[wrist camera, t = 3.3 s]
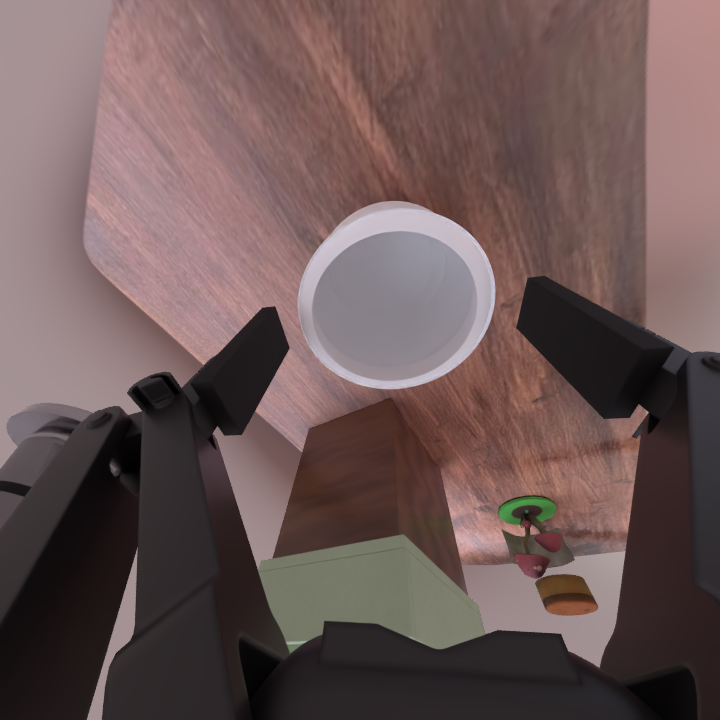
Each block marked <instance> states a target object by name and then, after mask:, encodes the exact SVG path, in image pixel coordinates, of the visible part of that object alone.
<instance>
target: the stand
mask: <svg viewBox="0 0 720 720" xmlns="http://www.w3.org/2000/svg"><path fill="white" fill-rule="evenodd" d="M402 534H404V535H405V536H406V537H407V538H408V539H409V540H410V541H411V542H412V543H413V544H414V545H415V546H416V547H417V548H418V549H420V550H421V551H422V552H423V553H424V554H425V555H426V556H427V557H428V558H429V559H430V560H431V561H432V562H433V563H434V564H435V565H436V566H437V567H438V568H439V569H440V570H442V571H443V572H444V573H445V574H446V575H447V576H448V577H449V578H450V579H451V580H452V581H453V582H454V583H455V584H456V585H457V586H458V587H459V588H460V589H461V590H462V591H464V592H465V593H466V594H467V595H468V593H467V589H466V585H465V580H464V575H463V571H462V566H461V562H460V557H459V553H458V548H457V544H456V539H455V535H454V530H453V526H452V521H451V517H450V512H449V508H448V503H447V499H446V494H445V490H444V485H443V481H442V476H441V472H440V469H439V468H438V466H437V465H436V464H435V462H434V461H433V459H432V458H431V456H430V455H429V453H428V452H427V450H426V449H425V448H424V446H423V445H422V443H421V442H420V440H419V439H418V437H417V436H416V435H415V433H414V432H413V430H412V429H411V427H410V426H409V424H408V423H407V422H406V420H405V419H404V417H403V416H402V414H401V413H400V411H399V410H398V408H397V407H396V406H395V404H394V403H393V401H392V400H391V398H389V399H387V400H384V401H381V402H379V403H376V404H374V405H371V406H368V407H366V408H363V409H361V410H358V411H355V412H353V413H350V414H348V415H345V416H342V417H340V418H337V419H335V420H332V421H329V422H327V423H324V424H322V425H319V426H316V427H314V428H311V429H309V431H308V434H307V438H306V441H305V445H304V448H303V452H302V456H301V459H300V463H299V466H298V470H297V473H296V477H295V481H294V484H293V488H292V492H291V495H290V498H289V502H288V505H287V509H286V513H285V516H284V520H283V523H282V527H281V530H280V534H279V537H278V541H277V545H276V548H275V552H274V555H273V558H279V557H284V556H290V555H295V554H300V553H306V552H311V551H316V550H322V549H327V548H333V547H338V546H343V545H349V544H354V543H359V542H365V541H370V540H376V539H381V538H386V537H392V536H397V535H402Z"/></svg>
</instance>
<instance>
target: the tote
mask: <svg viewBox="0 0 720 720" xmlns="http://www.w3.org/2000/svg"><path fill="white" fill-rule="evenodd" d="M258 572H259V575H260V579H261V582H262V585H263V588H264V591H265V595H266V598H267V601H268V604H269V607H270V610H271V612H272V614H273V616H274V618H275V620H276V622H277V623H278V625H279V627H280V629H281V631H282V633H283V636H284V638H285V641H286V643H287V646H288V649H289V652H290V653H291V652H293V651H294V650H295V649H297V648H298V647H299V646H301V645H302V644H303V643H305V642H307V641H309V640H311V639H313V638H315V637H317V636H319V635H322V634H323V626H324V621H339V622H357V623H375V624H379V625H381V626H384V627H386V628H388V629H391V630H393V631H395V632H397V633H400V634H402V635H404V636H407V637H409V638H411V639H413V640H416V641H418V642H420V643H423V644H425V645H427V646H429V647H432V648H435V649H444V648H448V647H450V646H453V645H456V644H459V643H462V642H465V641H468V640H471V639H474V638H477V637H480V636H483V635H485V631H484V627H483V622H482V618H481V614H480V610H479V606H478V605H477V604H476V603H475V602H474V601H473V600H472V599H471V598H470V597H469V596H468V595H467V594H466V593H465V592H464V591H462V590H461V589H460V588H459V587H458V586H457V585H456V584H455V583H454V582H453V581H452V580H451V579H450V578H449V577H448V576H447V575H446V574H445V573H444V572H443V571H442V570H440V569H439V568H438V567H437V566H436V565H435V564H434V563H433V562H432V561H431V560H430V559H429V558H428V557H427V556H426V555H425V554H424V553H423V552H422V551H421V550H420V549H418V548H417V547H416V546H415V545H414V544H413V543H412V542H411V541H410V540H409V539H408V538H407V537H406V536H405V535H404V534H402V535H397V536H392V537H386V538H381V539H376V540H370V541H365V542H359V543H354V544H349V545H343V546H338V547H333V548H327V549H322V550H316V551H311V552H306V553H300V554H295V555H290V556H284V557H279V558H273V559H268V560H263V561H261V562H260V566H259V569H258Z"/></svg>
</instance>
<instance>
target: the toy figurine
mask: <svg viewBox="0 0 720 720" xmlns="http://www.w3.org/2000/svg"><path fill="white" fill-rule="evenodd" d="M555 512H556V506H555V504H554V503H553V502H552V501H551V500H549V499H547V498H543V497H534V496H532V497H522V498H517V499H514V500H511V501H509V502H507V503H505V504H504V505H502V506H501V507H500V509H499V511H498V513H499V516H500V518H501V519H502V520H503V521H505V522H507V523H510V524H516V525H522V526H524V527H525V532H526V535H525V537H520V536H515V535H512V534H510V533H508V532H506V531H504V530H502V532H503V535H504V537H505V540H506V543H507V545H508V549H509V555H510V559H509V561H508V562H507V563H514V564H518V565H519V567H520V569H521V570H522V572H523V573H524V574H525V575H527V576H529V577H532V578H535V579H537V578H540V577H542V576H543V574H544V573H545V571H546V569H547V568H551V567H558V566H562V565H565V564H568V563H570V562H572V561H574V557H573V555H572V553H571V552H570V550H569V548H568V547H567V545H566V543H565V542H564V539H563V537H562V535H561V533H560V531H559V529H558V528H555V529H553V530H551V531H548V532H547V531H546V530H545V528H544V527H545V526H543V525H542V524H541V523H540V522H542V521H544V520H546V519H548V518H550V517H551V516H553V515H554V514H555ZM531 524H532V525H534V526H535V527H536V528H537V529H538V530H539V531H540V532H541V533H540V534H535V535H530V527H531ZM524 527H523V528H524ZM521 528H522V527H521ZM535 584H536V587H537V589H538V592H539V594H540V597H541V599H542V602H543V604H544V607H545V609H546V610H547V611H548V612H550V613H552V614H556V615H582V614H588V613H591V612H594V611H596V610H597V609H598V605H597V603H596V601H595V599H594V597H593V595H592V594H591V592H590V590H589V588H588V586H587V584H586V582H585V580H584V579H583V578H582V577H580V576H576V575H567V574H566V575H565V574H563V575H551V576H546V577H543V578H541V579H539V580H537V581H536V583H535Z"/></svg>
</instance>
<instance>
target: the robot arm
mask: <svg viewBox="0 0 720 720" xmlns="http://www.w3.org/2000/svg"><path fill="white" fill-rule="evenodd" d="M516 328H517V329H518V330H519V331H520V332H521V333H522V334H523V335H524V336H525V337H526V338H527V339H528V341H529V342H530V343H531V344H532V345H533V346H534V347H535V348H536V349H537V350H538V351H539V352H540V353H541V354H542V355H543V356H544V357H545V358H546V359H547V360H548V361H549V362H550V363H551V364H552V365H553V366H554V368H555V369H556V370H557V371H558V372H559V373H560V374H561V375H562V376H563V377H564V378H565V379H566V380H567V381H568V382H569V383H570V384H571V385H572V386H573V387H574V388H575V389H576V390H577V391H578V392H579V393H580V394H581V396H582V397H583V398H584V399H585V400H586V401H587V402H588V403H589V404H590V405H591V406H592V407H593V408H594V409H595V410H596V411H597V412H598V413H599V414H600V415H601V416H602V417H603V418H604V419H612V418H630V416H631V415H632V413H633V412H634V410H635V409H636V407H637V406H638V404H640V405H641V406H642V407H643V408H644V409H646V410H647V411H648V412H649V413H648V414H647V416H646V417H645V419H644V420H643V422H642V423H641V424H640V426H639V427H638V429H637V430H636V432H635V433H634V434H633V436H632V437H634V438H637V437H638V436H639V435H641V439H640V446H639V454H638V462H637V469H636V477H635V484H634V492H633V500H632V507H631V515H630V522H629V530H628V538H627V545H626V553H625V561H624V569H623V575H622V584H621V591H620V598H619V606H618V613H617V621H616V626H615V629H614V632H613V635H612V636H611V638H610V640H609V642H608V644H607V646H606V648H605V650H604V654H603V656H602V660H601V664H600V668H598V667H597V666H595V665H594V664H592V663H591V662H589V661H587V660H585V659H583V658H581V657H579V656H577V655H575V654H574V653H571V652H569V651H568V650H567V648H566V645H565V643H564V640H563V638H562V635H561V634H555V633H537V632H536V633H535V632H519V631H501V630H497V631H494V632H492V633H488V634H485V635H483V636H480V637H477V638H474V639H471V640H468V641H465V642H462V643H459V644H456V645H453V646H450V647H448V648H444V649H435V648H432V647H429V646H427V645H425V644H423V643H420V642H418V641H416V640H413V639H411V638H409V637H407V636H404V635H402V634H400V633H397V632H395V631H393V630H391V629H388V628H386V627H384V626H381V625H379V624H375V623H357V622H339V621H324V626H323V634H322V635H319V636H317V637H315V638H313V639H311V640H309V641H307V642H305V643H303V644H302V645H301V646H299V647H298V648H297V649H295V650H294V651H293V652H291V653H290V652H289V649H288V646H287V643H286V641H285V638H284V636H283V633H282V631H281V629H280V627H279V625H278V623H277V622H276V620H275V618H274V616H273V614H272V612H271V610H270V607H269V604H268V601H267V598H266V595H265V591H264V588H263V585H262V582H261V579H260V575H259V572H258V569H257V566H256V563H255V560H254V556H253V553H252V550H251V547H250V544H249V541H248V538H247V535H246V531H245V528H244V525H243V521H242V519H241V515H240V512H239V509H238V506H237V502H236V499H235V496H234V493H233V490H232V487H231V483H230V480H229V477H228V474H227V471H226V468H225V465H224V461H223V458H222V455H221V452H220V448H219V445H218V442H217V439H216V438H215V436H214V435H213V432H214V430H215V429H216V427H217V426H218V427H219V428H220V430H221V431H222V433H223V434H224V435H242V433H243V432H244V429H245V428H246V426H247V424H248V423H249V421H250V419H251V417H252V415H253V413H254V412H255V410H256V408H257V406H258V405H259V403H260V401H261V399H262V397H263V395H264V394H265V392H266V390H267V388H268V386H269V385H270V383H271V381H272V379H273V377H274V376H275V374H276V372H277V370H278V368H279V367H280V365H281V363H282V361H283V359H284V357H285V356H286V354H287V352H288V350H289V345H288V342H287V339H286V336H285V333H284V330H283V327H282V325H281V322H280V319H279V316H278V313H277V310H276V307H275V306H274V307H265V308H262V309H261V310H260V311H259V312H258V313H257V314H256V315H255V316H254V317H253V318H252V319H251V320H250V321H249V322H248V323H247V324H246V325H245V326H244V327H243V328H242V330H241V331H240V332H239V333H238V334H237V335H236V336H235V337H234V338H233V339H232V340H231V341H230V342H229V343H228V344H227V345H226V346H225V347H224V348H223V349H222V350H221V351H220V352H219V354H217V355H216V356H214V357H213V358H211V359H210V360H209V361H208V362H207V363H206V364H205V365H204V367H203V368H201V369H200V370H199V371H198V373H196V374H195V375H194V376H193V377H192V378H191V379H190V380H189V381H188V382H187V383H186V384H185V385H184V386H183V387H182V388H181V387H180V386H179V384H178V383H177V381H176V380H175V379H174V377H173V376H172V375H171V373H169V372H162V373H156V374H153V375H150V376H148V377H146V378H144V379H142V380H140V381H139V382H137V383H135V384H134V385H133V386H132V387H131V388H130V389H129V391H128V392H127V394H128V395H129V396H130V397H131V398H132V399H133V401H134V402H135V403H136V404H137V405H138V406H139V407H140V409H141V410H142V412H138V413H134V414H131V415H127V414H126V413H125V412H124V410H123V409H122V408H120V407H119V406H113V407H108V408H105V409H103V410H98V411H97V412H94V414H93V413H92V414H91V415H89V416H88V417H87V418H86V419H84V420H83V421H82V422H81V423H80V424H79V425H78V426H77V427H76V428H75V429H74V431H70V430H65V429H59V428H42V429H39V430H37V431H35V432H34V433H32V434H31V435H30V436H28V437H27V438H25V439H24V440H23V441H22V442H21V444H20V445H19V446H18V448H17V449H16V450H15V451H14V453H13V454H12V455H11V456H10V458H9V459H8V460H7V461H6V463H5V464H4V465H3V466H2V468H1V469H0V720H87V717H88V713H89V710H90V706H91V703H92V700H93V696H94V693H95V690H96V686H97V683H98V679H99V676H100V673H101V669H102V666H103V662H104V659H105V656H106V652H107V649H108V645H109V642H110V638H111V635H112V632H113V628H114V625H115V622H116V618H117V615H118V611H119V608H120V605H121V601H122V598H123V594H124V591H125V588H126V584H127V581H128V578H129V574H130V571H131V567H132V564H133V561H134V557H135V554H136V550H137V547H138V556H137V583H136V584H137V585H136V612H135V628H134V634H133V636H132V638H131V640H130V641H129V642H128V643H127V644H126V645H125V646H124V647H122V648H121V649H120V650H119V651H118V652H117V653H116V654H115V656H114V658H113V660H112V662H111V664H110V667H109V670H108V675H107V680H106V685H105V694H104V704H103V715H102V720H720V353H715V352H694V353H691V352H689V351H687V350H685V349H683V348H682V347H680V346H678V345H676V344H674V343H672V342H670V341H669V340H666V339H665V338H663V337H661V336H659V335H656V334H655V333H653V332H652V331H650V330H648V329H646V330H645V328H644V327H642V326H640V325H639V324H637V323H635V322H633V321H630V320H627V319H624V318H621V317H619V316H617V315H615V314H613V313H611V312H610V311H608V310H606V309H604V308H602V307H600V306H599V305H597V304H595V303H593V302H591V301H589V300H588V299H586V298H584V297H582V296H580V295H578V294H577V293H575V292H573V291H571V290H569V289H567V288H566V287H564V286H562V285H560V284H558V283H556V282H555V281H553V280H551V279H549V278H547V277H545V276H540V277H532V278H528V279H527V283H526V288H525V292H524V297H523V301H522V305H521V310H520V314H519V319H518V323H517V327H516Z"/></svg>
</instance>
